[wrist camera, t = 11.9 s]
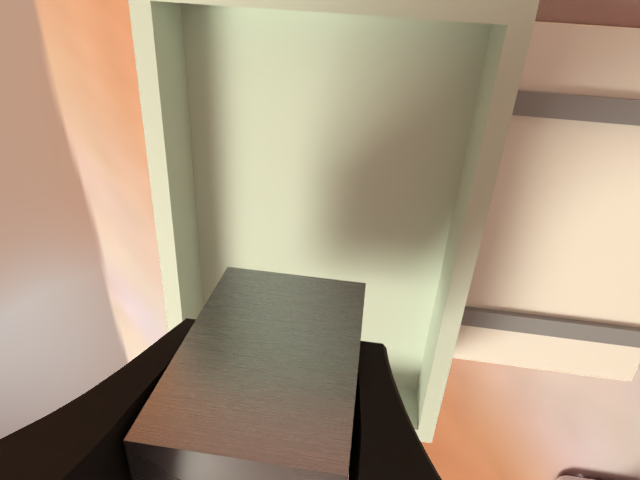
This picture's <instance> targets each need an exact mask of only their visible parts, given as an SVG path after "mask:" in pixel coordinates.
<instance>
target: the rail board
mask: <svg viewBox="0 0 640 480" xmlns="http://www.w3.org/2000/svg"><path fill="white" fill-rule="evenodd" d="M453 358H458V359H465V360H473V361H480V362H488V363H495V364H502V365H510V366H517V367H525V368H532V369H539V370H547V371H554V372H562V373H569V374H576V375H584V376H591V377H599V378H606V379H613V380H621V381H628V382H631V381H632V379H633V377H634V375H635V373H636V371H637V369H638V367H639V364H640V28H632V27H617V26H602V25H587V24H572V23H557V22H542V21H535V23H534V27H533V31H532V35H531V39H530V43H529V47H528V52H527V56H526V60H525V64H524V68H523V72H522V76H521V80H520V84H519V88H518V92H517V97H516V101H515V105H514V109H513V113H512V117H511V121H510V125H509V129H508V133H507V137H506V141H505V146H504V150H503V154H502V158H501V162H500V166H499V170H498V174H497V178H496V182H495V186H494V190H493V195H492V199H491V203H490V207H489V211H488V215H487V219H486V223H485V227H484V231H483V235H482V239H481V244H480V248H479V252H478V256H477V260H476V264H475V268H474V272H473V276H472V280H471V284H470V289H469V293H468V297H467V301H466V305H465V309H464V313H463V317H462V321H461V325H460V329H459V333H458V338H457V342H456V346H455V350H454V354H453Z"/></svg>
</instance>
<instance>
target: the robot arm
mask: <svg viewBox="0 0 640 480" xmlns="http://www.w3.org/2000/svg"><path fill="white" fill-rule="evenodd" d="M195 320H196V319H188V318H186V319H185V320H184V321H182V322H181V323H180V324H178V325H177V326H176V327H174V328H173V329H172V330H171V331H169V332H168V333H167V334H165V335H164V336H163V337H162V338H160V339H159V340H158V341H157V342H155V343H154V344H153V345H151V346H150V347H149V348H148V349H146V350H145V351H144V352H142V353H141V354H140V355H138V356H137V357H136V358H134V359H133V360H132V361H130V362H129V363H128V364H126V366H124V367H122V368H121V369H120V370H118V371H117V372H115V373H114V374H112V375H111V376H109V377H108V378H107V379H105V380H104V381H102V382H101V383H99V384H98V385H96V386H95V387H94V388H92V389H91V390H89V391H88V392H86V393H85V394H83V395H81V396H79V397H78V398H76V399H75V400H73V401H71V402H70V403H68V404H66V405H65V406H63V407H61V408H59V409H58V410H56V411H54V412H52V413H51V414H49V415H47V416H45V417H43V418H41V419H39V420H37V421H35V422H34V423H32V424H30V425H27V426H26V427H24V428H22V429H20V430H18V431H16V432H14V433H12V434H10V435H8V436H6V437H4V438H2V439H0V480H132V478H131V473H130V469H129V464H128V459H127V455H126V450H125V445H124V441H123V440H124V439H125V437H126V435H127V434H128V432H129V430H130V429H131V427H132V425H133V424H134V422H135V420H136V419H137V417H138V415H139V414H140V412H141V410H142V409H143V407H144V405H145V404H146V402H147V400H148V399H149V397H150V395H151V394H152V392H153V390H154V389H155V387H156V385H157V384H158V382H159V380H160V379H161V377H162V375H163V374H164V372H165V370H166V369H167V367H168V365H169V364H170V362H171V360H172V359H173V357H174V355H175V354H176V352H177V350H178V349H179V347H180V345H181V344H182V342H183V340H184V339H185V337H186V335H187V334H188V332H189V330H190V329H191V327H192V325H193V324H194V322H195ZM349 480H442V479H441V478H440V476H439V474H438V473H437V471H436V469H435V467H434V466H433V464H432V462H431V460H430V459H429V457H428V455H427V453H426V451H425V449H424V447H423V445H422V443H421V441H420V440H419V437H418V435H417V433H416V431H415V429H414V427H413V425H412V423H411V420H410V418H409V416H408V414H407V411H406V409H405V406H404V404H403V401H402V399H401V396H400V394H399V391H398V389H397V386H396V383H395V380H394V377H393V374H392V370H391V367H390V363H389V359H388V354H387V348H386V347H385V346H384V344H382V343H374V342H366V341H360V352H359V363H358V374H357V385H356V396H355V406H354V417H353V428H352V439H351V450H350V461H349ZM557 480H594V479H588V478H581V477H575V476H568V475H564V476H560V477H558V478H557Z"/></svg>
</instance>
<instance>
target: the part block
mask: <svg viewBox="0 0 640 480" xmlns="http://www.w3.org/2000/svg"><path fill="white" fill-rule="evenodd" d="M365 287H366V283H361V282H352V281H344V280H335V279H327V278H318V277H310V276H302V275H293V274H285V273H276V272H268V271H259V270H251V269H242V268H234V267H227V269H226V270H225V272H224V274H223V275H222V277H221V279H220V280H219V282H218V284H217V285H216V287H215V289H214V290H213V292H212V294H211V295H210V297H209V299H208V300H207V302H206V304H205V305H204V307H203V309H202V310H201V312H200V314H199V315H198V317H197V319H196V320H195V322H194V324H193V325H192V327H191V329H190V330H189V332H188V334H187V335H186V337H185V339H184V340H183V342H182V344H181V345H180V347H179V349H178V350H177V352H176V354H175V355H174V357H173V359H172V360H171V362H170V364H169V365H168V367H167V369H166V370H165V372H164V374H163V375H162V377H161V379H160V380H159V382H158V384H157V385H156V387H155V389H154V390H153V392H152V394H151V395H150V397H149V399H148V400H147V402H146V404H145V405H144V407H143V409H142V410H141V412H140V414H139V415H138V417H137V419H136V420H135V422H134V424H133V425H132V427H131V429H130V430H129V432H128V434H127V435H126V437H125V439H124V440H123V441H124V445H125V450H126V455H127V459H128V464H129V469H130V473H131V478H132V480H348V472H349V461H350V450H351V439H352V428H353V417H354V406H355V396H356V385H357V374H358V363H359V352H360V341H361V330H362V320H363V309H364V298H365Z"/></svg>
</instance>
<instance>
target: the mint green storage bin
mask: <svg viewBox="0 0 640 480" xmlns="http://www.w3.org/2000/svg"><path fill="white" fill-rule="evenodd" d="M128 2H129V10H130V18H131V27H132V35H133V44H134V52H135V60H136V69H137V77H138V85H139V94H140V102H141V110H142V119H143V127H144V135H145V144H146V152H147V160H148V169H149V177H150V185H151V194H152V202H153V211H154V219H155V227H156V236H157V244H158V252H159V261H160V269H161V277H162V286H163V294H164V302H165V311H166V319H167V327H168V332H169V331H171V330H172V329H173V328H174V327H176V326H177V325H178V324H180V323H181V322H182V321H184V320H185V319H186V318H188V319H197V317H198V315H199V314H200V312H201V310H202V309H203V307H204V305H205V304H206V302H207V300H208V299H209V297H210V295H211V294H212V292H213V290H214V289H215V287H216V285H217V284H218V282H219V280H220V279H221V277H222V275H223V274H224V272H225V270H226V269H227V267H234V268H242V269H251V270H259V271H268V272H276V273H285V274H293V275H302V276H310V277H318V278H327V279H335V280H344V281H352V282H361V283H366V287H365V298H364V309H363V320H362V330H361V341H366V342H374V343H382V344H384V346H385V347H386V348H387V354H388V359H389V363H390V367H391V370H392V374H393V377H394V380H395V383H396V386H397V389H398V391H399V394H400V396H401V399H402V401H403V404H404V406H405V409H406V411H407V414H408V416H409V418H410V420H411V423H412V425H413V427H414V429H415V431H416V433H417V435H418V437H419V440H420V441H421V442H428V443H432V440H433V436H434V431H435V427H436V423H437V419H438V415H439V411H440V407H441V403H442V399H443V395H444V391H445V387H446V382H447V378H448V374H449V370H450V366H451V362H452V358H453V354H454V350H455V346H456V342H457V338H458V333H459V329H460V325H461V321H462V317H463V313H464V309H465V305H466V301H467V297H468V293H469V289H470V284H471V280H472V276H473V272H474V268H475V264H476V260H477V256H478V252H479V248H480V244H481V239H482V235H483V231H484V227H485V223H486V219H487V215H488V211H489V207H490V203H491V199H492V195H493V190H494V186H495V182H496V178H497V174H498V170H499V166H500V162H501V158H502V154H503V150H504V146H505V141H506V137H507V133H508V129H509V125H510V121H511V117H512V113H513V109H514V105H515V101H516V97H517V92H518V88H519V84H520V80H521V76H522V72H523V68H524V64H525V60H526V56H527V52H528V47H529V43H530V39H531V35H532V31H533V27H534V23H535V19H536V15H537V11H538V7H539V3H540V0H128Z"/></svg>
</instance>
